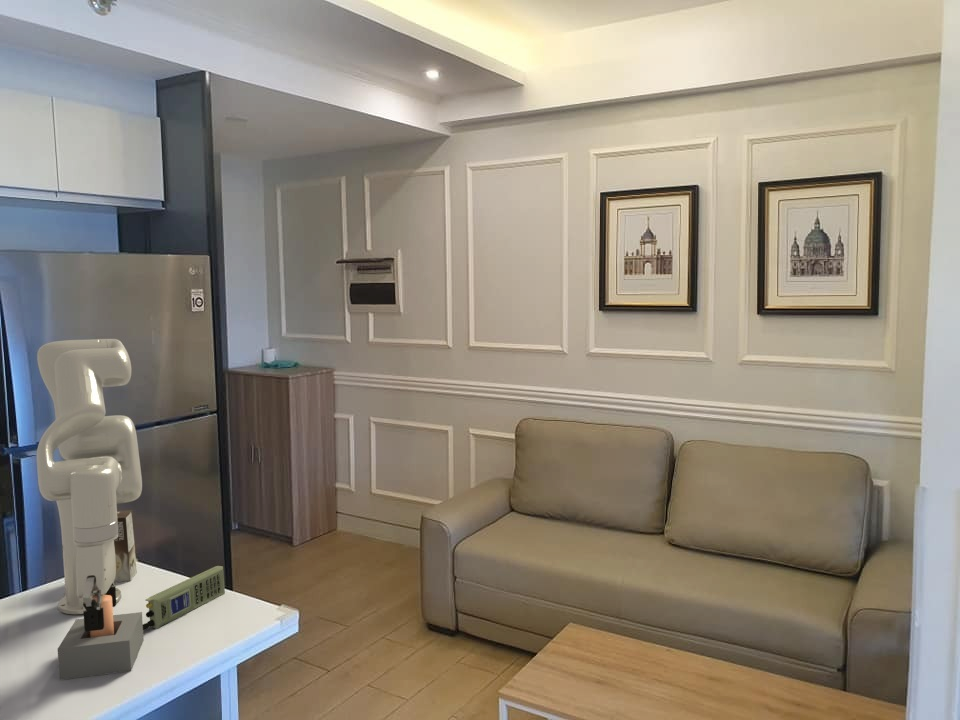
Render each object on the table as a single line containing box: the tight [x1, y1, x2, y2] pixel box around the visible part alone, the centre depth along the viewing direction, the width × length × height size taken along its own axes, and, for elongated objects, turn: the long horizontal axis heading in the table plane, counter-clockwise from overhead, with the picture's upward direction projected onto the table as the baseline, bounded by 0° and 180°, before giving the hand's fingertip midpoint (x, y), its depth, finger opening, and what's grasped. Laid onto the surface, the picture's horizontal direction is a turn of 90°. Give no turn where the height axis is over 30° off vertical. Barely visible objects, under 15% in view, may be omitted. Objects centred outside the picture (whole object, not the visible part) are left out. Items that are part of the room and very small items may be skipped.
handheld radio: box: [143, 565, 226, 632], centre depth 158 cm, size 7×3×25 cm
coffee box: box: [114, 509, 138, 583], centre depth 177 cm, size 9×6×16 cm
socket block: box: [57, 611, 144, 681], centre depth 139 cm, size 12×12×6 cm
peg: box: [90, 595, 114, 638], centre depth 138 cm, size 4×4×12 cm
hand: (101, 618), depth 138 cm, fingers open, 9 cm apart
